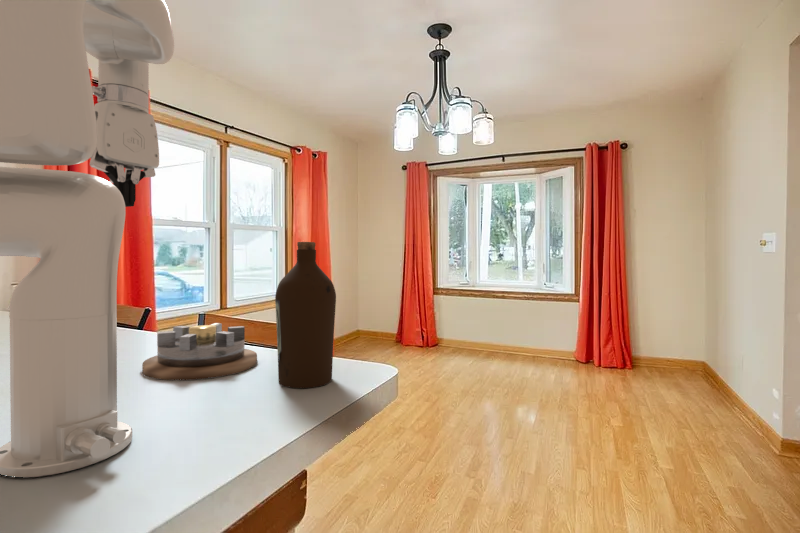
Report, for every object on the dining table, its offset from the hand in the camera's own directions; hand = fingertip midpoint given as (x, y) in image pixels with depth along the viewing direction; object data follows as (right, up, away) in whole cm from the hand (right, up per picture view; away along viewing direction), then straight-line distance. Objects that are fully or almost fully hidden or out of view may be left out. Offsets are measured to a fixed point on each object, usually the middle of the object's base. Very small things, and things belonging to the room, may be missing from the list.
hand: (124, 205), depth 77 cm
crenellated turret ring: (+9, -29, +10) cm, 32 cm away
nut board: (+9, -31, +10) cm, 34 cm away
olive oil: (+32, -32, 0) cm, 45 cm away
